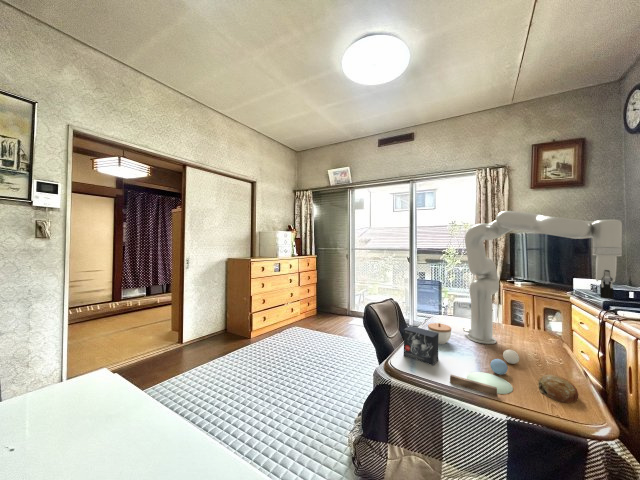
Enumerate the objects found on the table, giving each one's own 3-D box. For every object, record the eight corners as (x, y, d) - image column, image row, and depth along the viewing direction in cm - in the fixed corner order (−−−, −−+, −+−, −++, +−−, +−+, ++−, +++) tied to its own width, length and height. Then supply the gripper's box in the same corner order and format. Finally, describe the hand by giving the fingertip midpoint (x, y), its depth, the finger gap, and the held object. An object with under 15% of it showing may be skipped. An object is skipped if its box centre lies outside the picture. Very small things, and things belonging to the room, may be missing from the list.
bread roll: (535, 396, 92) (526, 376, 92) (559, 383, 93) (550, 363, 93) (563, 415, 82) (554, 393, 82) (590, 400, 83) (580, 378, 83)
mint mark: (459, 380, 96) (459, 380, 96) (475, 368, 104) (475, 368, 104) (504, 399, 85) (504, 398, 85) (518, 384, 93) (518, 383, 93)
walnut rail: (450, 382, 94) (450, 375, 94) (450, 381, 95) (450, 374, 95) (496, 396, 86) (496, 389, 86) (496, 394, 87) (496, 387, 87)
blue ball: (488, 373, 101) (488, 359, 101) (493, 368, 104) (493, 355, 104) (504, 379, 97) (504, 364, 97) (509, 374, 100) (509, 360, 100)
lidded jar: (450, 339, 135) (450, 321, 135) (451, 347, 125) (451, 328, 125) (428, 336, 139) (428, 318, 139) (427, 343, 129) (427, 324, 129)
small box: (402, 355, 116) (403, 329, 116) (409, 351, 121) (409, 325, 121) (432, 365, 107) (433, 336, 107) (439, 360, 112) (439, 332, 112)
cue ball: (501, 362, 110) (501, 349, 110) (505, 358, 113) (505, 346, 113) (516, 367, 105) (516, 354, 105) (521, 363, 109) (521, 350, 109)
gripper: (592, 250, 109) (592, 291, 109) (592, 252, 97) (591, 298, 97) (620, 251, 103) (619, 294, 103) (623, 253, 91) (622, 301, 91)
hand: (606, 296), depth 100 cm, fingers open, 9 cm apart
